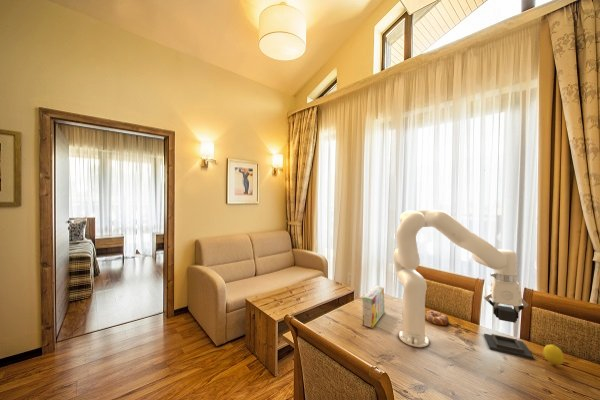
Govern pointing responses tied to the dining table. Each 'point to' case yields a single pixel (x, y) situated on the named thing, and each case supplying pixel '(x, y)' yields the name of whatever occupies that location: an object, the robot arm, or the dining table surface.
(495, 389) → the dining table surface
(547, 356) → the lemon
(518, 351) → the base pad
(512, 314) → the black block
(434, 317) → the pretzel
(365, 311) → the snack box
